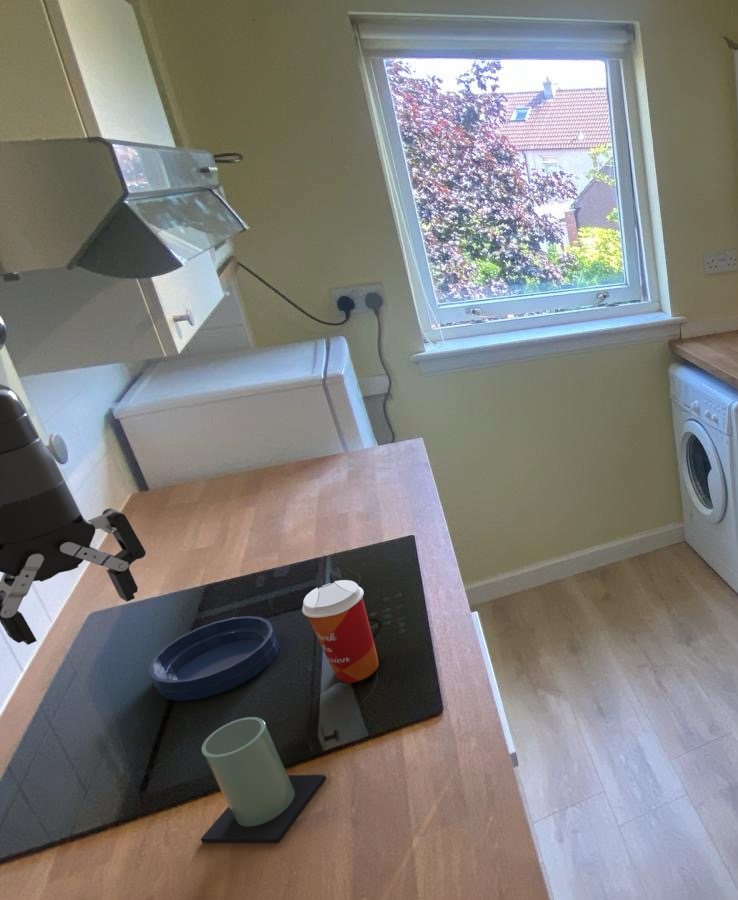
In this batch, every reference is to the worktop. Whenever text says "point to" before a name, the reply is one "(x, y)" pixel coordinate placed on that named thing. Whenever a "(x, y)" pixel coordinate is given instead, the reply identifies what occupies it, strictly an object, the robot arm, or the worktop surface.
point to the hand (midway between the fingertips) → (80, 618)
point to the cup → (249, 771)
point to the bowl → (214, 658)
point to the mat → (273, 829)
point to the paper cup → (342, 629)
